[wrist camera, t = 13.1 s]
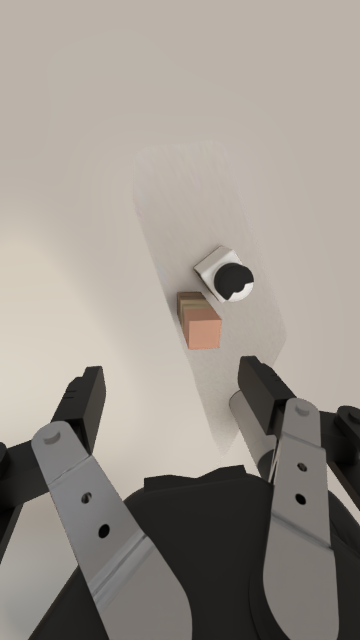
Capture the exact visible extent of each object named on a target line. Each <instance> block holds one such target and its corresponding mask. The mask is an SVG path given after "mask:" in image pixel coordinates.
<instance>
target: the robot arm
mask: <svg viewBox="0 0 360 640" xmlns="http://www.w3.org/2000/svg"><path fill="white" fill-rule="evenodd" d="M238 385H239V388H240V391H239V392H237V393H236V394H234V395H233V396H232V398H231V400H230V404H229V405H230V408H231V411H232V413H233V415H234V417H235V420H236V422H237V424H238V426H239V429H240V431H241V433H242V435H243V437H244V440H245V442H246V444H247V446H248V449H249V451H250V453H251V456H252V458H253V460H254V462H255V464H256V467H257V469H258V471H259V473H260V475H261V478H260V477H258V476H255V475H252V474H248V473H246V470H245V468H244V465H237V466H229V467H223V468H218V469H216V470H214V471H212V472H210V473H207V474H205V475H203V476H201V477H198V478H190V477H182V476H176V475H163V476H156V477H149V478H144V487H143V488H141V489H139V490H137V491H136V492H134V493H132V494H131V495H130V496H129V497H127V498H126V499H125V500H124V501H122V499H121V498H120V496H119V495H118V493H117V492H116V490H115V488H114V487H113V485H112V484H111V482H110V481H109V479H108V478H107V476H106V475H105V473H104V471H103V470H102V468H101V467H100V465H99V464H98V462H97V461H96V459H95V458H94V456H93V455H92V453H93V448H94V444H95V440H96V436H97V432H98V428H99V423H100V419H101V415H102V411H103V407H104V403H105V397H106V387H105V381H104V375H103V369H102V366H93V367H87V368H86V369H85V372H84V374H83V376H82V377H76V378H75V379H74V380H73V381H72V382H71V383H69V385H68V387H67V389H66V391H65V393H64V395H63V397H62V400H61V402H60V404H59V406H58V408H57V410H56V412H55V414H54V416H53V418H52V420H51V422H50V423H49V424H47V425H45V426H44V427H42V428H41V429H40V430H39V431H38V432H37V433H36V434H35V435H34V437H33V439H32V440H29V441H27V442H24V443H21V444H19V445H16V446H13V447H10V448H6V446H5V444H3V443H2V442H0V564H1V561H2V558H3V555H4V553H5V551H6V548H7V545H8V543H9V540H10V538H11V535H12V533H13V530H14V527H15V525H16V522H17V520H18V517H19V514H20V512H21V509H22V507H23V504H24V503H25V502H27V501H29V500H32V499H34V498H36V497H38V496H40V495H43V494H45V493H47V492H50V494H51V497H52V499H53V502H54V504H55V507H56V509H57V512H58V514H59V517H60V519H61V522H62V524H63V527H64V529H65V532H66V534H67V537H68V539H69V542H70V545H71V547H72V549H73V552H74V555H75V557H76V560H77V562H78V566H77V568H76V569H75V571H74V572H73V574H72V575H71V577H70V578H69V580H68V581H67V582H66V584H65V585H64V587H63V588H62V590H61V591H60V593H59V594H58V596H57V597H56V599H55V600H54V602H53V603H52V605H51V606H50V608H49V609H48V611H47V612H46V614H45V615H44V617H43V618H42V620H41V621H40V623H39V624H38V626H37V627H36V629H35V630H34V631H33V633H32V635H31V636H30V637H29V639H28V640H360V526H359V524H358V523H357V521H356V520H355V519H354V517H353V516H352V515H351V514H350V512H349V511H348V509H347V508H346V507H345V506H344V505H343V503H342V502H341V501H340V500H339V499H338V498H337V497H336V496H335V495H334V494H333V493H332V492H330V491H329V490H328V488H327V466H326V463H327V464H328V466H329V467H330V469H331V470H332V471H333V473H334V474H335V476H336V477H337V479H338V480H339V482H340V483H341V485H342V486H343V488H344V489H345V490H346V492H347V493H348V495H349V496H350V498H351V499H352V501H353V502H354V504H355V505H356V507H357V508H358V509H359V511H360V409H358V408H355V407H352V406H340V407H339V408H338V410H337V413H329V412H324V411H318V409H317V408H316V407H315V406H314V405H313V404H312V403H310V402H308V401H306V400H304V399H300V398H297V397H296V396H295V395H294V394H293V392H292V391H291V390H290V389H289V388H288V387H287V386H286V384H285V383H284V382H283V381H282V380H281V378H280V377H279V376H277V374H276V373H275V371H274V370H273V369H272V368H271V367H269V366H267V365H266V364H264V363H262V364H261V362H260V361H259V360H258V359H257V357H256V356H242V357H241V359H240V365H239V372H238Z"/></svg>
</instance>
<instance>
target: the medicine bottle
mask: <svg viewBox="0 0 360 640" xmlns="http://www.w3.org/2000/svg"><path fill="white" fill-rule="evenodd" d="M194 270H195V272H196V273H197V274H198V276H199V277H200V278H201V280H202V281H203V282H204V284H205V285H206V286H207V288H208V289H209V290H210V292H211V293H212V294H213V295H214V296H215V297H216V298H217V300H218V301H219V302H220V303H224V302H225V301H226V300H227V301H231V302H235V301H240V300H242V299H244V298H245V297H246V296H247V295H248V294H249V293H250V292H251V290H252V287H253V283H254V278H253V274H252V272H251V271H250V270H249V269H248V268H247V267H245V266H243V264H242V262H241V261H240V259H239V258H238V256H237V254H236V253H235V251H234V250H232V249H229V248H226V247H223V246H220V247H219V248H218V249H216V250H215V251H214V252H213V253H211V254H210V255H209V256H208V257H206V258H205V259H204V260H203V261H201V262H200V263H199V264H198V265H196V266H195V267H194Z"/></svg>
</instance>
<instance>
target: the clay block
mask: <svg viewBox="0 0 360 640" xmlns="http://www.w3.org/2000/svg"><path fill="white" fill-rule="evenodd" d="M221 323H222V319H221V318H220V317H219V315H218V314H217V313H216V311H215V310H214V309H213V308H204V309H185V313H184V336H185V340H186V343H187V346H188V349H189V350H193V349H208V348H219V344H220V333H221Z"/></svg>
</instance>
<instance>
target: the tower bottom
mask: <svg viewBox="0 0 360 640" xmlns="http://www.w3.org/2000/svg"><path fill="white" fill-rule="evenodd" d="M196 299H206V298H205V297H204V296H203V295H202V293H201V292H178V293H177V315H178V318H179V321H180V305H181V300H196Z"/></svg>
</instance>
